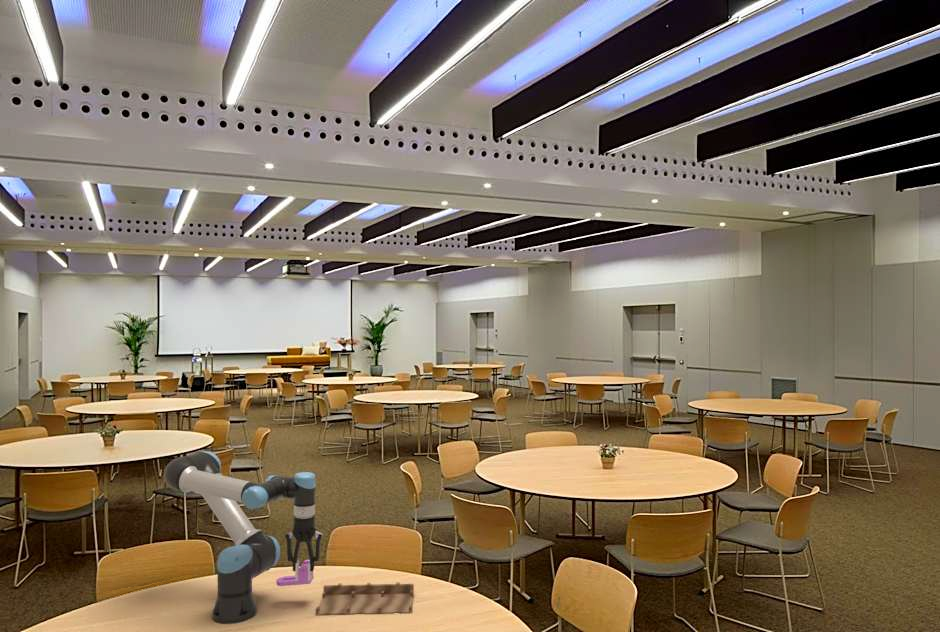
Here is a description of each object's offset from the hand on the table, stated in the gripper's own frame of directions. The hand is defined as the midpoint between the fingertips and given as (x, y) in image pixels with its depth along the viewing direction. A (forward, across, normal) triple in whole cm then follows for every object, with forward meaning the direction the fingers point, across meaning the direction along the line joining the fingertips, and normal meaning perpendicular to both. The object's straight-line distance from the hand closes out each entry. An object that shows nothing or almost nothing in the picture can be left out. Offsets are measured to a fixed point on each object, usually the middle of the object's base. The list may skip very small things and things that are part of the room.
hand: (303, 579), depth 240 cm
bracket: (+3, -4, +4) cm, 6 cm away
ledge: (+10, +23, +1) cm, 25 cm away
